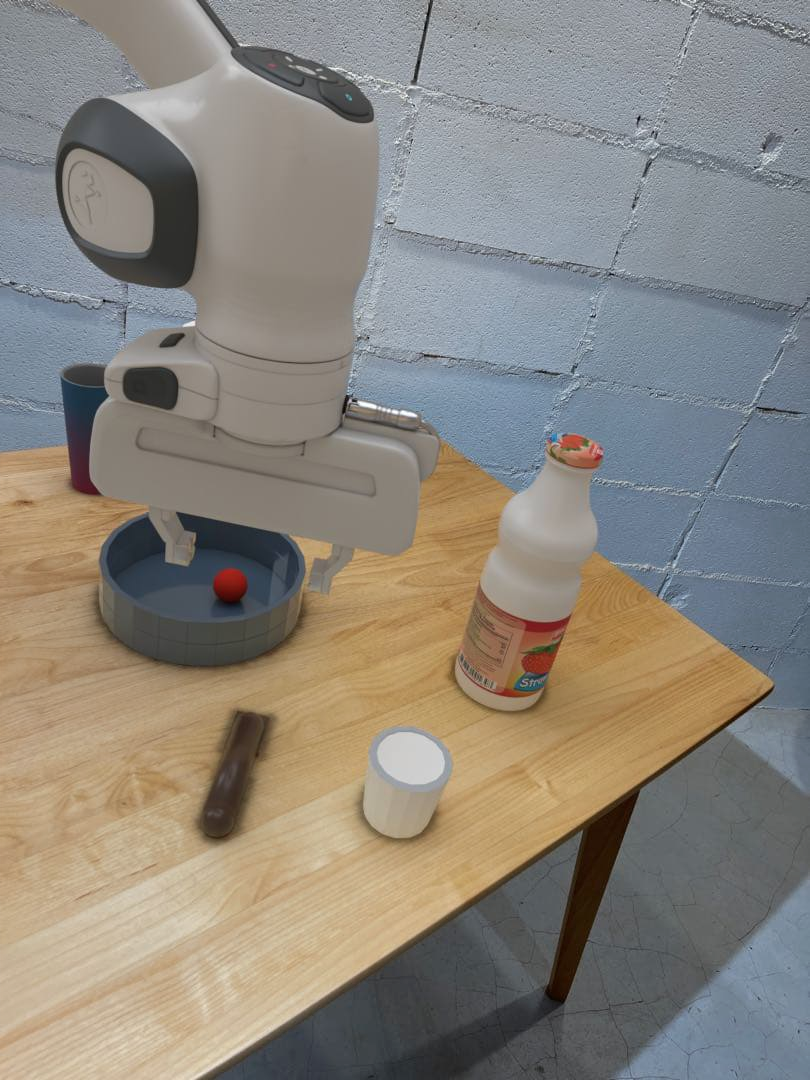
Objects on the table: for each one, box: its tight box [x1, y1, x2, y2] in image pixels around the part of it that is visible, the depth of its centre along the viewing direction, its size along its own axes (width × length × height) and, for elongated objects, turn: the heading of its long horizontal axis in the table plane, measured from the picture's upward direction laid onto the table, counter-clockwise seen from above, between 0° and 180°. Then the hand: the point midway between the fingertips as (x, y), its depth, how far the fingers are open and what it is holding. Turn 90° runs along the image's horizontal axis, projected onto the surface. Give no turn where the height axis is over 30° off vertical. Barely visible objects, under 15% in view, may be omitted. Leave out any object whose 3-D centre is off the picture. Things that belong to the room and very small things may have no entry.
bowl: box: [98, 511, 307, 667], centre depth 85 cm, size 20×20×6 cm
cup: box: [59, 362, 109, 496], centre depth 97 cm, size 7×7×15 cm
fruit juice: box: [454, 431, 604, 712], centre depth 78 cm, size 9×9×28 cm
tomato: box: [213, 568, 248, 602], centre depth 86 cm, size 4×4×4 cm
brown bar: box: [200, 710, 271, 838], centre depth 68 cm, size 13×3×3 cm, turn 175°
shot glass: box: [362, 725, 454, 839], centre depth 67 cm, size 7×7×7 cm
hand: (250, 574), depth 54 cm, fingers open, 8 cm apart
